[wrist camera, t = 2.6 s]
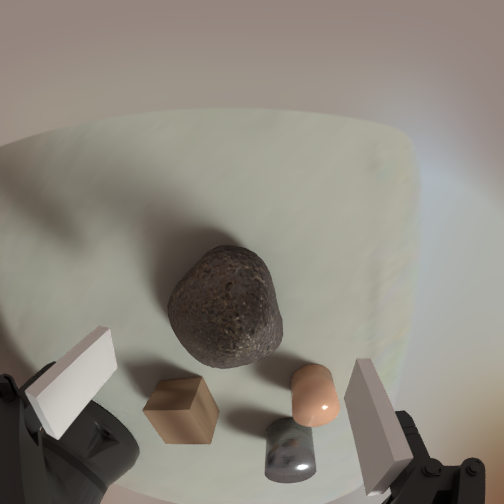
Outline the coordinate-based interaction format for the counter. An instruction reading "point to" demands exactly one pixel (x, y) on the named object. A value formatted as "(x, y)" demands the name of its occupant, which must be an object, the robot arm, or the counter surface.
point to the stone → (227, 309)
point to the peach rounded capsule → (313, 396)
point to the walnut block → (183, 411)
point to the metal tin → (289, 452)
